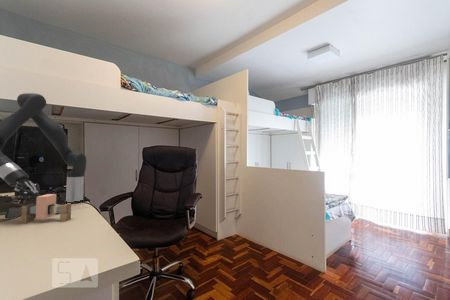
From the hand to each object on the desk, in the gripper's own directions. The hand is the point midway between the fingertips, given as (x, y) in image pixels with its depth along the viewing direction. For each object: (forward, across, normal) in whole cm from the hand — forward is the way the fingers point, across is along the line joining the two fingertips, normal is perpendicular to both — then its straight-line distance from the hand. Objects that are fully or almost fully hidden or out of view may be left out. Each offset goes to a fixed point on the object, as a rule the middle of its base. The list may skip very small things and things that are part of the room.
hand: (40, 200), depth 99 cm
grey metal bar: (+6, 0, +2) cm, 7 cm away
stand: (+9, 0, +5) cm, 10 cm away
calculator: (+3, +12, +12) cm, 17 cm away
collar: (+7, 0, +4) cm, 8 cm away
